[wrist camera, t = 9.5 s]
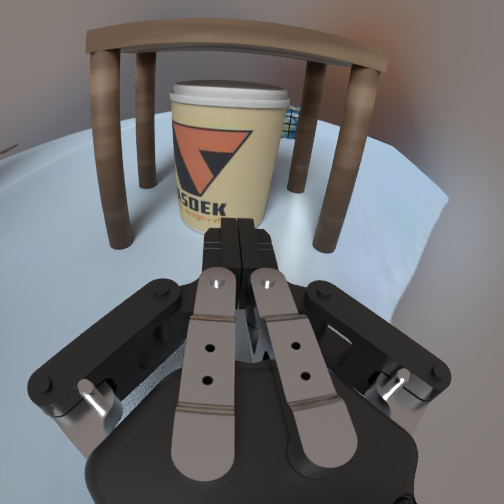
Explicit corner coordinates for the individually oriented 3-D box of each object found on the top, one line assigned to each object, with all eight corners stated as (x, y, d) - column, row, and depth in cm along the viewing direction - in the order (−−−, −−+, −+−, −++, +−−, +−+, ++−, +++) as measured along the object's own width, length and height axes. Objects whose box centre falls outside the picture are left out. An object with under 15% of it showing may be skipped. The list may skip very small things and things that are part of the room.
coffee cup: (151, 215, 25) (146, 84, 18) (216, 184, 32) (224, 79, 24) (229, 259, 22) (243, 92, 14) (289, 214, 28) (310, 92, 21)
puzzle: (296, 132, 57) (300, 106, 53) (302, 140, 52) (307, 111, 49) (268, 129, 56) (271, 103, 53) (272, 137, 52) (276, 107, 48)
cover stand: (338, 253, 23) (389, 52, 13) (107, 249, 21) (87, 30, 11) (301, 186, 34) (324, 50, 24) (141, 181, 31) (140, 39, 21)
